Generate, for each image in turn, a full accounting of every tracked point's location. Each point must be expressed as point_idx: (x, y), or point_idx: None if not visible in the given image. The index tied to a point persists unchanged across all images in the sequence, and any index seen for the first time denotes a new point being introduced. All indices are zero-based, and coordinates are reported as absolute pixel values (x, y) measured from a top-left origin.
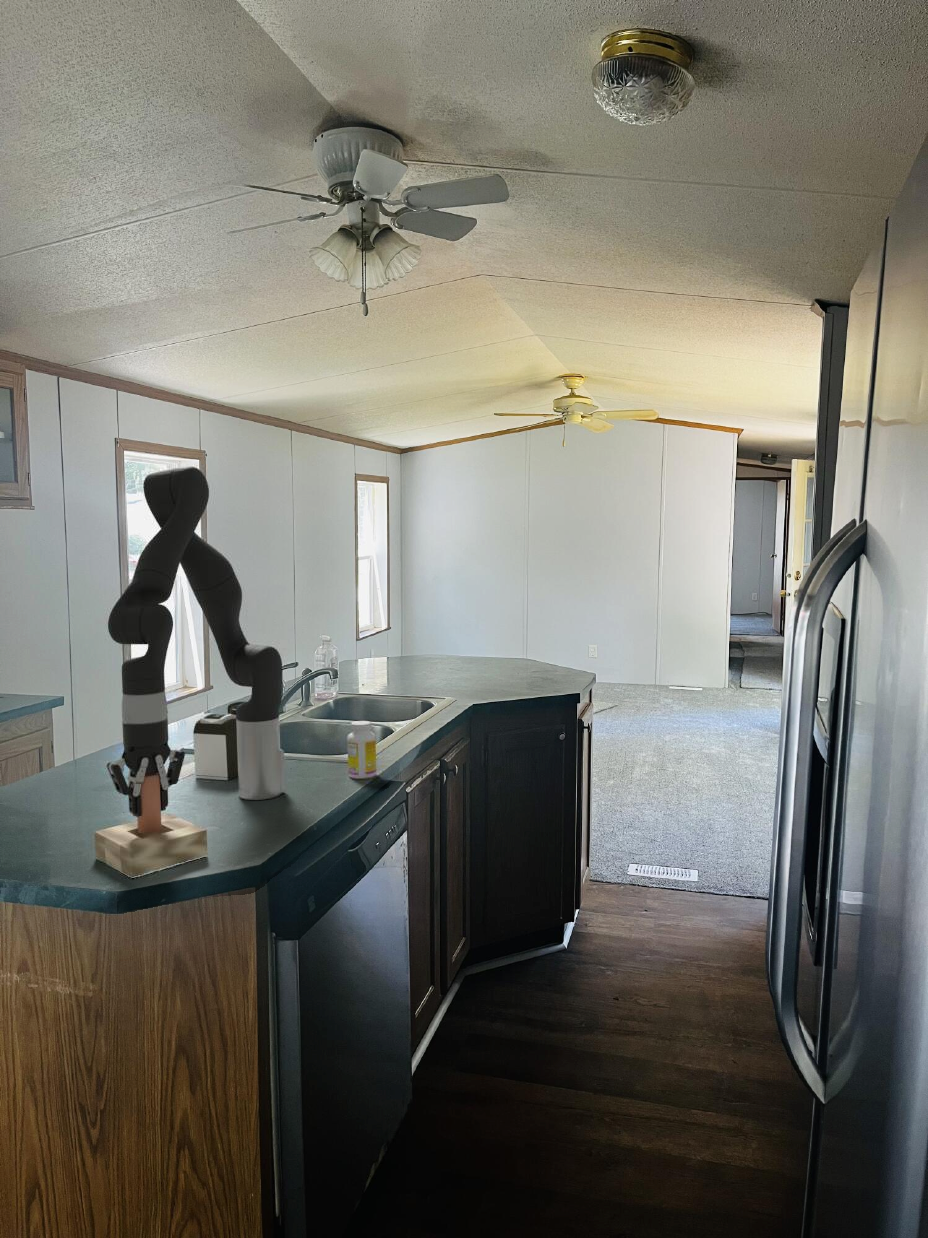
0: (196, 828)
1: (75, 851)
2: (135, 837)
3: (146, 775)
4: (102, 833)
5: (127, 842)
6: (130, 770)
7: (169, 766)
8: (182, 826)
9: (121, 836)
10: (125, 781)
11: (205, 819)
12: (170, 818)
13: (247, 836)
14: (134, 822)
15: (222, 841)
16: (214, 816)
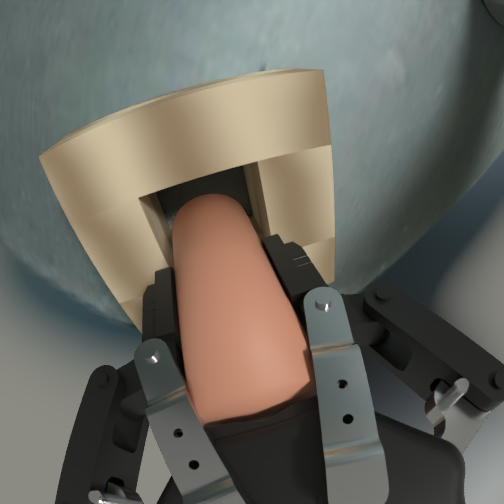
0: (323, 264)
1: (33, 49)
2: (160, 268)
3: (257, 420)
4: (62, 187)
5: (137, 295)
6: (170, 461)
7: (423, 355)
8: (304, 234)
9: (120, 243)
10: (141, 454)
11: (402, 2)
12: (308, 135)
13: (411, 170)
14: (180, 107)
15: (370, 167)
16: (420, 3)
